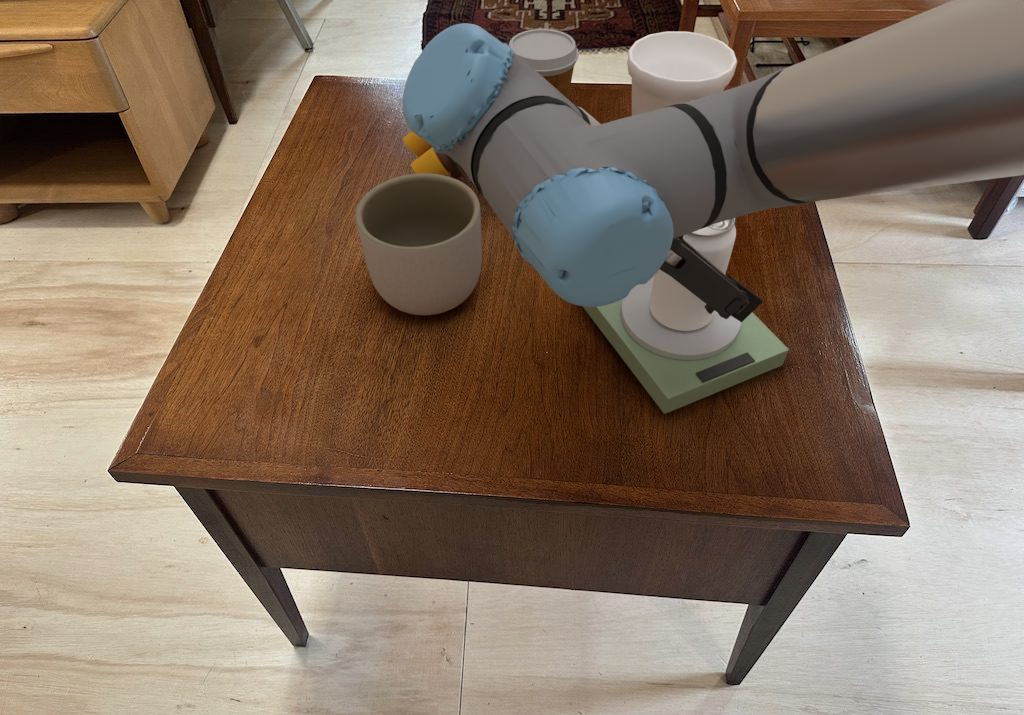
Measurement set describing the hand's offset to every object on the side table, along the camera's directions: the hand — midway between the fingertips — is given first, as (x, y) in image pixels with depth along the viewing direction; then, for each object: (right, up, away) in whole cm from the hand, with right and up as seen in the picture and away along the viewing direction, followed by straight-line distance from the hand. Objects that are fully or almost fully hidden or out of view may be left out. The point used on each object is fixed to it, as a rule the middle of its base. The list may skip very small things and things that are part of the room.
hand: (712, 271), depth 69 cm
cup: (0, +16, +24) cm, 29 cm away
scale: (-2, -6, +5) cm, 8 cm away
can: (-3, -4, +3) cm, 5 cm away
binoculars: (-25, +11, +20) cm, 34 cm away
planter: (-29, -1, +10) cm, 31 cm away
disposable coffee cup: (-16, +24, +31) cm, 42 cm away
